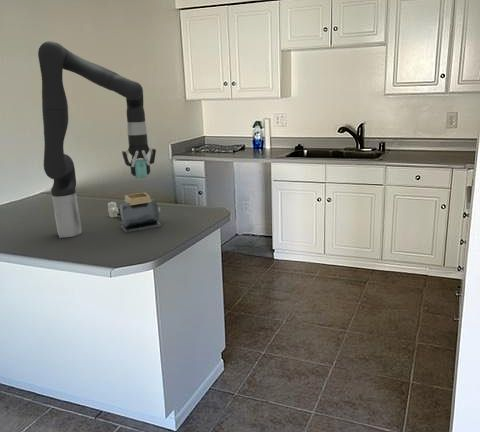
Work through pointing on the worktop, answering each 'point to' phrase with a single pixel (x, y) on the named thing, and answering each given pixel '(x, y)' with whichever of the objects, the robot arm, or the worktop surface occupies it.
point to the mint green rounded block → (140, 168)
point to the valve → (113, 210)
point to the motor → (139, 212)
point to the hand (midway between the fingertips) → (140, 174)
